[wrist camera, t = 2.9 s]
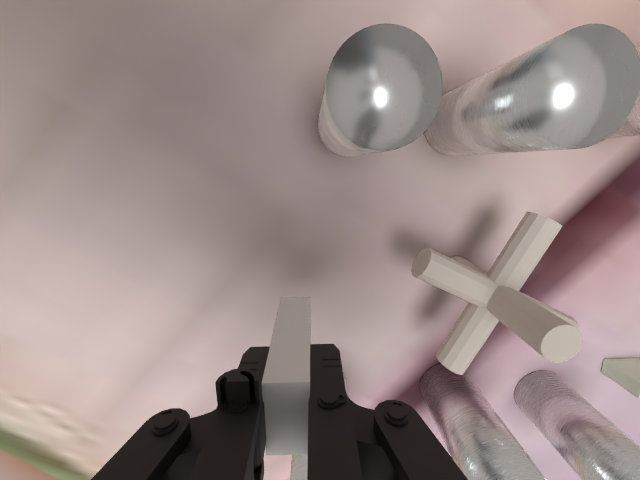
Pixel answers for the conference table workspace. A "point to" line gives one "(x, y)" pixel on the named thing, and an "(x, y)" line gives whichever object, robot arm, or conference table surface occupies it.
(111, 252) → the conference table surface
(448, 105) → the set of silver pegs
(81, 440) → the conference table surface
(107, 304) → the conference table surface
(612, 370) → the corral
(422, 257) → the beige rod cross
